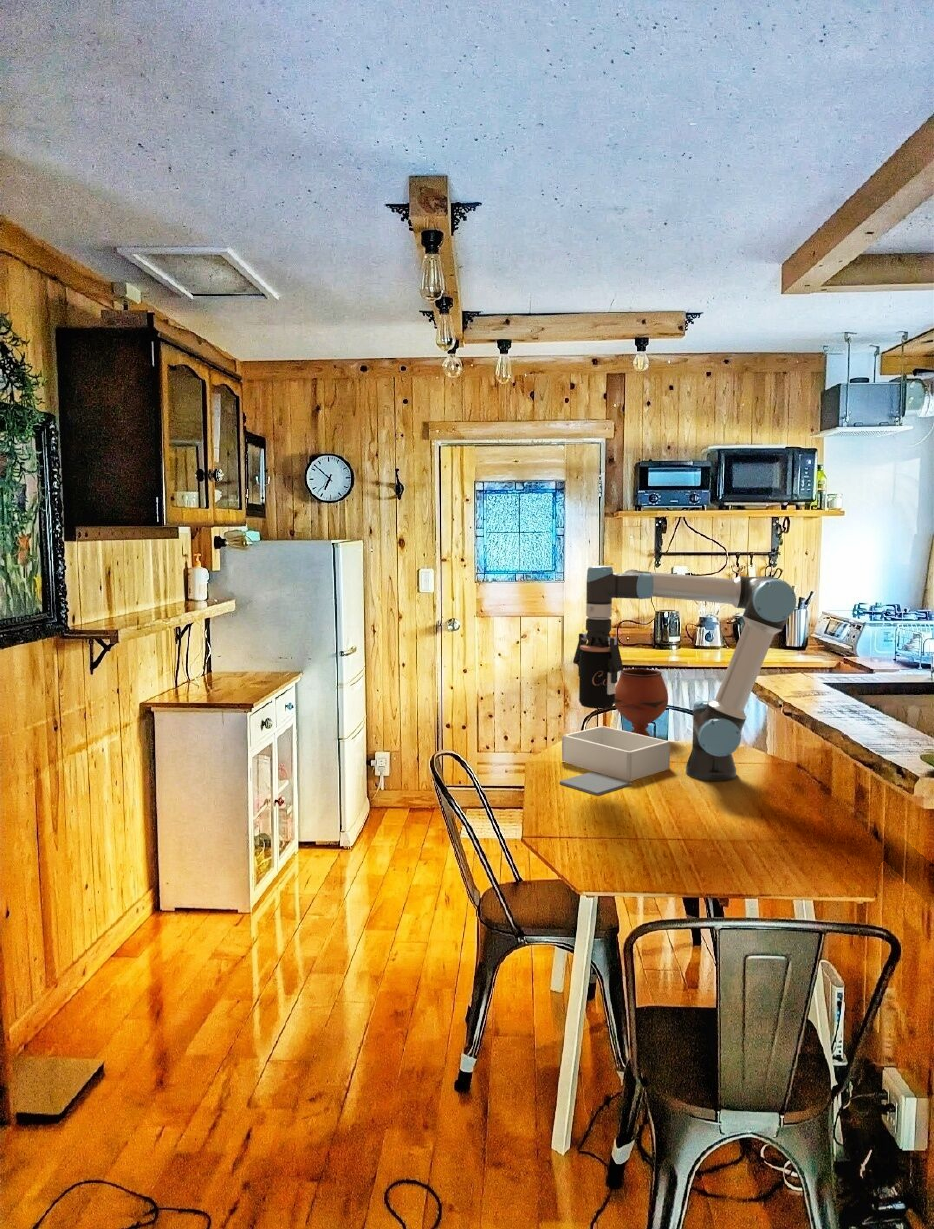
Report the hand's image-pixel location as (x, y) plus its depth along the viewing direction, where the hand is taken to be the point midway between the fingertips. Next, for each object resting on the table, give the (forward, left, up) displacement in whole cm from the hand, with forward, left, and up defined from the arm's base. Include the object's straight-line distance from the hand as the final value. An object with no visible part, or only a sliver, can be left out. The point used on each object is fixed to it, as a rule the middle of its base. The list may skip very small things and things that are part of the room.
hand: (597, 690), depth 263 cm
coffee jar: (0, 0, -5) cm, 5 cm away
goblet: (+24, -51, -28) cm, 63 cm away
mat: (-1, +2, -28) cm, 28 cm away
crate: (+8, -18, -28) cm, 34 cm away
